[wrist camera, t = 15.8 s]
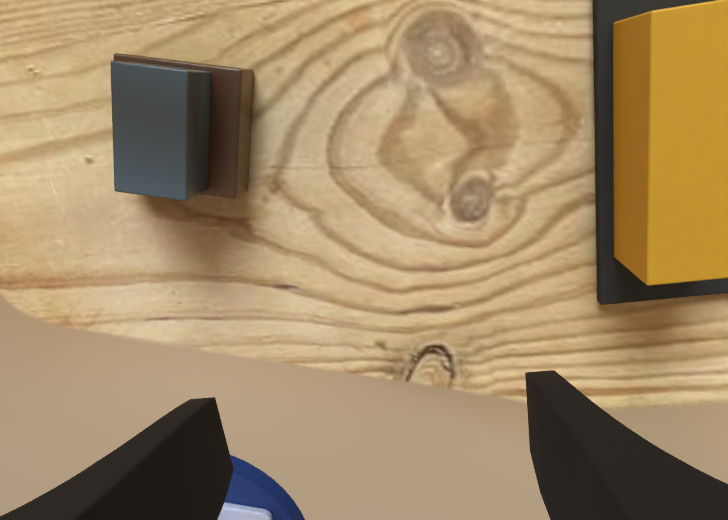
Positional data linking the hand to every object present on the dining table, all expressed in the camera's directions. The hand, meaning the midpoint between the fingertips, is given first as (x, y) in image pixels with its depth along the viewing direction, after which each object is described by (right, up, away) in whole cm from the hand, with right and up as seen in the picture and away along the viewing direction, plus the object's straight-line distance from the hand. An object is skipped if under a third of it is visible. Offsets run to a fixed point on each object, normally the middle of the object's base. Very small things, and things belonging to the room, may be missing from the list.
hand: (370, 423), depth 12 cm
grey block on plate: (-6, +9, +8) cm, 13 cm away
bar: (+10, +8, +6) cm, 14 cm away
